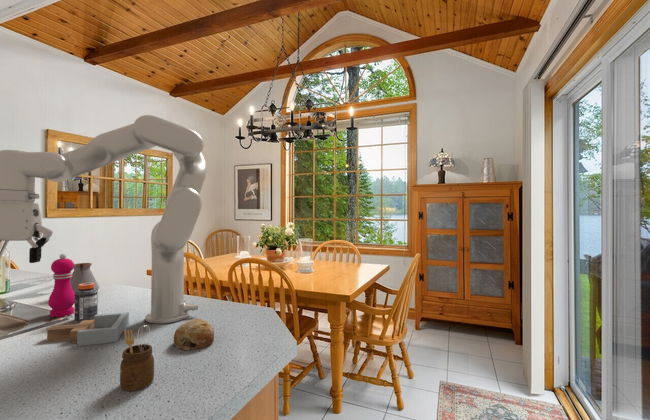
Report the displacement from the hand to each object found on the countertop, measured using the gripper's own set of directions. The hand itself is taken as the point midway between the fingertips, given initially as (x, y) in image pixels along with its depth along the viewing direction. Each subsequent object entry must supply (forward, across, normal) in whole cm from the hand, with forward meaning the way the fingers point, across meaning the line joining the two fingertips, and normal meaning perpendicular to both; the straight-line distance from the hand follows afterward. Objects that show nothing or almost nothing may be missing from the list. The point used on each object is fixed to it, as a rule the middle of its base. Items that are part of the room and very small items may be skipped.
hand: (14, 262), depth 87 cm
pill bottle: (+21, -10, -16) cm, 28 cm away
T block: (+20, -13, 0) cm, 24 cm away
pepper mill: (+21, +1, -22) cm, 30 cm away
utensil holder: (+21, -41, +28) cm, 54 cm away
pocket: (+20, -21, -2) cm, 30 cm away
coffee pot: (+21, +5, -42) cm, 47 cm away
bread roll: (+21, -47, +8) cm, 52 cm away
